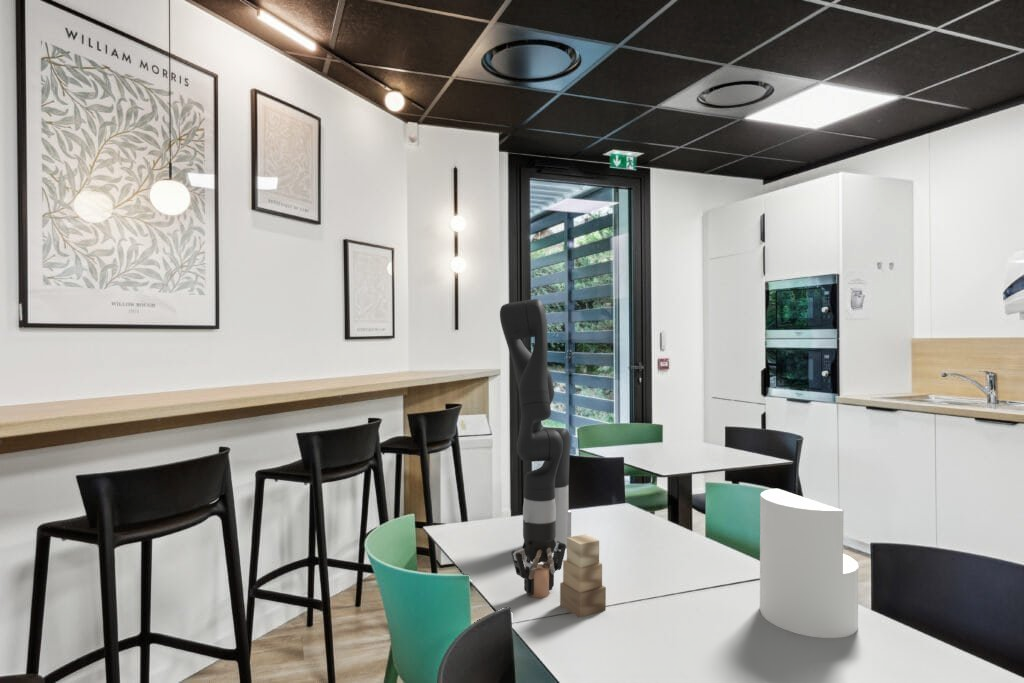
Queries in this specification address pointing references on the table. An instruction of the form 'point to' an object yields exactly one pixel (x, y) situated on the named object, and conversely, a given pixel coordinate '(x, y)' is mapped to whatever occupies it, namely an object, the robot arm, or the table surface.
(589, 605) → the tower base
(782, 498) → the cylinder
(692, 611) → the table surface
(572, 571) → the tower mid
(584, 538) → the tower top
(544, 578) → the cylinder
